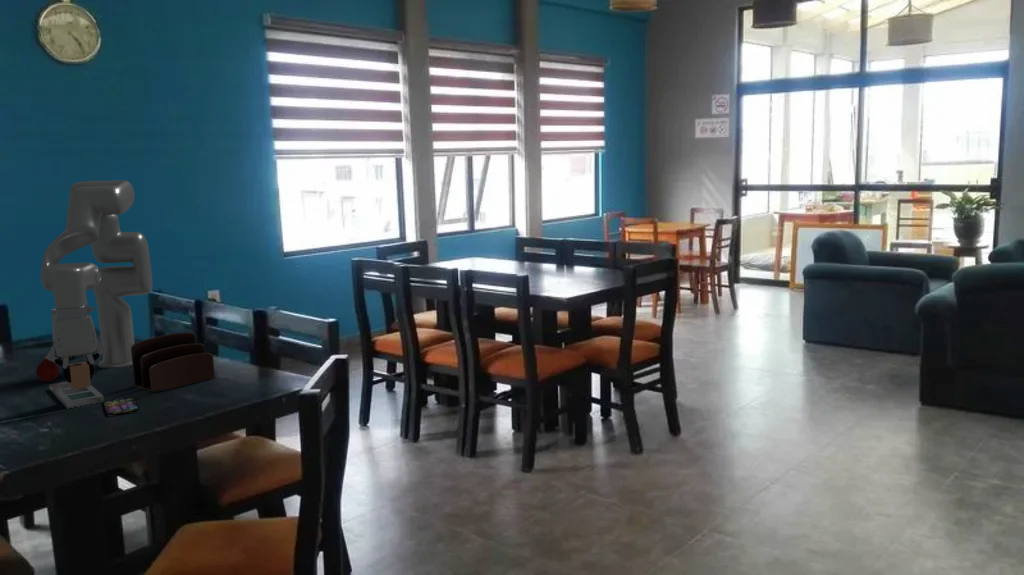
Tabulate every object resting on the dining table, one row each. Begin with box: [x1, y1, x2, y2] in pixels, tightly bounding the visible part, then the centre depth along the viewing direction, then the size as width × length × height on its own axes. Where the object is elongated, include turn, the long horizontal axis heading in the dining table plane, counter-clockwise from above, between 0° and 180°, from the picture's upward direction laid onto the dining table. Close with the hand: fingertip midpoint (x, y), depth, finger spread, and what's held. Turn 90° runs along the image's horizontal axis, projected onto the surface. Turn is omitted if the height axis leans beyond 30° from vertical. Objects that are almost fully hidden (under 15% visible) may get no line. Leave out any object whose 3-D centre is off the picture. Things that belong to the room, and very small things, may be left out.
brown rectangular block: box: [68, 361, 92, 389], centre depth 222 cm, size 4×4×6 cm
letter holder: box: [131, 332, 216, 394], centre depth 240 cm, size 10×20×14 cm, turn 141°
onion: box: [35, 356, 60, 383], centre depth 244 cm, size 6×6×8 cm
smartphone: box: [103, 396, 140, 416], centre depth 218 cm, size 8×1×15 cm
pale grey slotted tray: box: [49, 381, 105, 410], centre depth 229 cm, size 9×24×2 cm, turn 38°
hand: (79, 379), depth 222 cm, fingers closed on brown rectangular block, 4 cm apart
